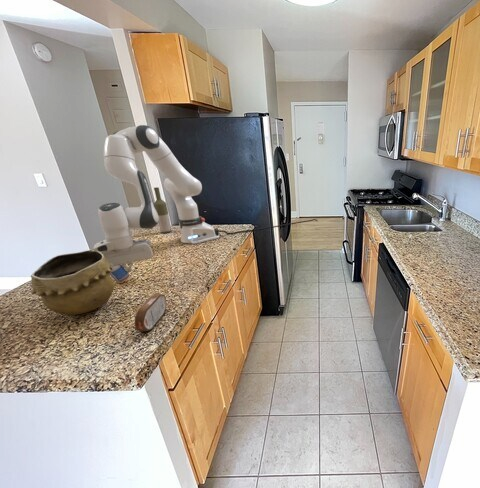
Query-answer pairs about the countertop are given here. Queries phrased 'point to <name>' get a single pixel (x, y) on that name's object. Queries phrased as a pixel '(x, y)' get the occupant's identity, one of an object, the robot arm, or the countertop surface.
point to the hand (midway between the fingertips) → (129, 271)
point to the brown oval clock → (150, 312)
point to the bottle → (162, 213)
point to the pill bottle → (119, 273)
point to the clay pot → (74, 282)
